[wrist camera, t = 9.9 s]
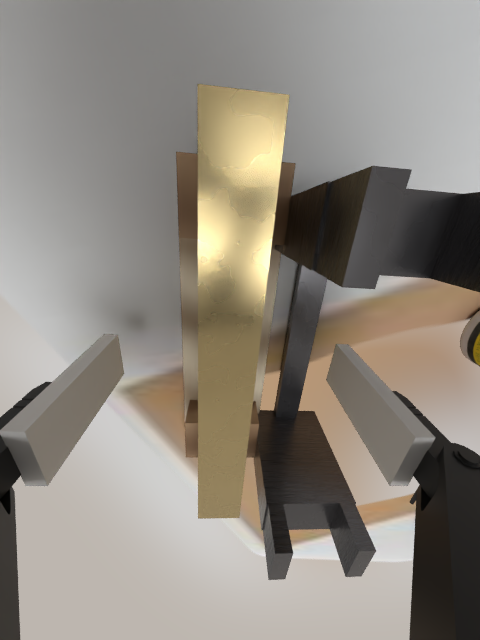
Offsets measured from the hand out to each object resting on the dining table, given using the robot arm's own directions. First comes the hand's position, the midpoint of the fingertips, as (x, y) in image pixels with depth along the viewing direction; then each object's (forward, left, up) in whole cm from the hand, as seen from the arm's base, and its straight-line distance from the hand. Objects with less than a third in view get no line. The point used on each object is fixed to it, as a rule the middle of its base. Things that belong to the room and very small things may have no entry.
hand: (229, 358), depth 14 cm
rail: (0, 0, -2) cm, 2 cm away
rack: (+1, +6, -5) cm, 8 cm away
